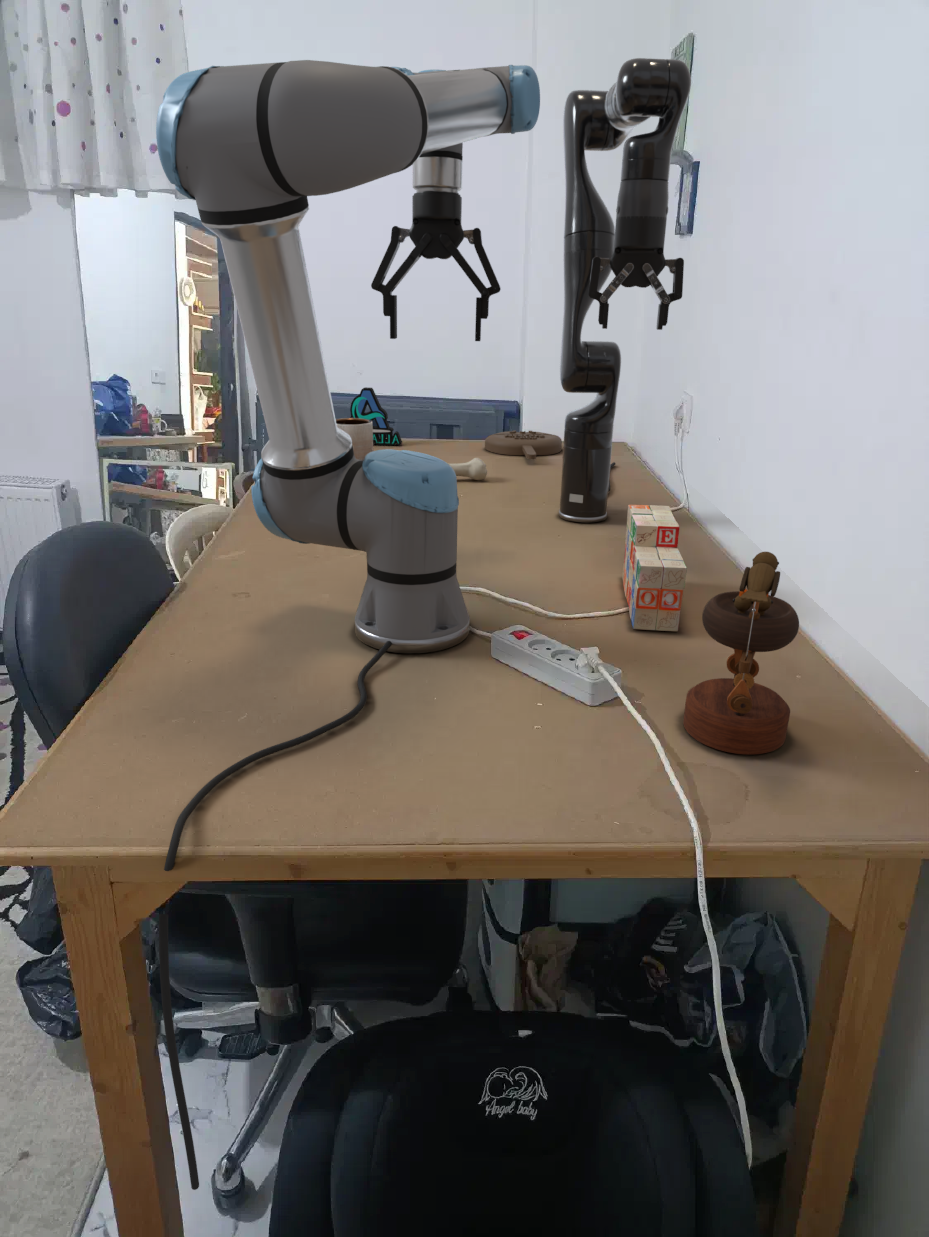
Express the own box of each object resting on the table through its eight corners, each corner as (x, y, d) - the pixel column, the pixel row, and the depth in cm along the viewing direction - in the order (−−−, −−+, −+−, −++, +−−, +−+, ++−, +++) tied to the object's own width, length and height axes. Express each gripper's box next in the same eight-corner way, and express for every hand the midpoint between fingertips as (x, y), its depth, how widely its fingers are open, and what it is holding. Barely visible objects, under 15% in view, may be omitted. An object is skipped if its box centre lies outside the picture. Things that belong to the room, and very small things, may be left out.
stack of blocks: (679, 633, 114) (689, 545, 109) (632, 630, 114) (640, 543, 110) (661, 580, 134) (669, 504, 129) (621, 578, 134) (628, 502, 130)
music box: (807, 766, 83) (825, 574, 75) (692, 766, 84) (698, 577, 77) (772, 695, 97) (784, 526, 89) (674, 696, 98) (678, 530, 91)
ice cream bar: (490, 464, 211) (490, 447, 209) (483, 443, 237) (483, 428, 235) (573, 465, 212) (575, 448, 210) (557, 444, 238) (558, 429, 236)
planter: (327, 456, 217) (325, 418, 214) (369, 454, 220) (368, 417, 217) (334, 465, 208) (332, 425, 204) (377, 463, 211) (376, 424, 207)
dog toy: (483, 476, 199) (483, 454, 197) (488, 481, 194) (488, 460, 192) (397, 477, 196) (397, 456, 194) (400, 483, 190) (400, 461, 189)
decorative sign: (402, 443, 235) (401, 388, 229) (401, 445, 232) (400, 389, 227) (334, 442, 236) (332, 386, 230) (333, 443, 233) (330, 387, 228)
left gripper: (519, 196, 131) (513, 340, 139) (360, 193, 132) (362, 336, 140) (519, 191, 124) (513, 343, 132) (351, 188, 125) (354, 338, 133)
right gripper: (686, 217, 130) (674, 328, 136) (592, 216, 131) (585, 326, 137) (693, 214, 123) (680, 331, 129) (594, 213, 124) (586, 329, 130)
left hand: (435, 340), depth 136 cm, fingers open, 13 cm apart
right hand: (631, 329), depth 133 cm, fingers open, 8 cm apart
